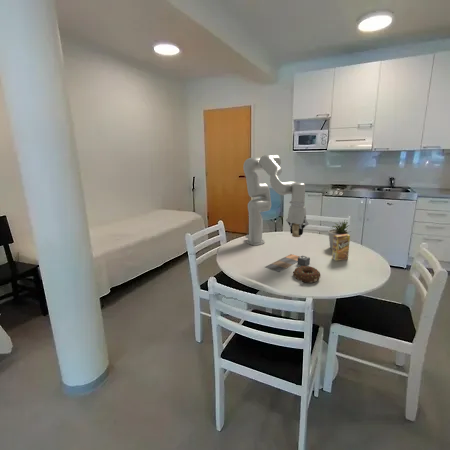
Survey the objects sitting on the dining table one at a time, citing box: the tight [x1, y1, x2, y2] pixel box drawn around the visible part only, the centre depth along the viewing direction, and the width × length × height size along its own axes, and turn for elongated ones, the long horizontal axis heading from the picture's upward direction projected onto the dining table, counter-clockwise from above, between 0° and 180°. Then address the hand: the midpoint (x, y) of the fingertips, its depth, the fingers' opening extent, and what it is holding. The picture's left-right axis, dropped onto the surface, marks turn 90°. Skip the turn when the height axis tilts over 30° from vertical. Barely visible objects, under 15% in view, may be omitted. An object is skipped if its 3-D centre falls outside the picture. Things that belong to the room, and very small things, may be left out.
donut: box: [292, 265, 321, 284], centre depth 154 cm, size 14×14×5 cm
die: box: [296, 255, 311, 266], centre depth 171 cm, size 5×5×5 cm
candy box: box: [331, 234, 351, 261], centre depth 178 cm, size 9×4×15 cm, turn 107°
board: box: [264, 253, 300, 273], centre depth 174 cm, size 10×28×1 cm, turn 135°
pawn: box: [291, 224, 302, 238], centre depth 176 cm, size 5×5×10 cm
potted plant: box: [327, 219, 352, 250], centre depth 195 cm, size 13×14×20 cm
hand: (296, 233), depth 177 cm, fingers closed on pawn, 4 cm apart
